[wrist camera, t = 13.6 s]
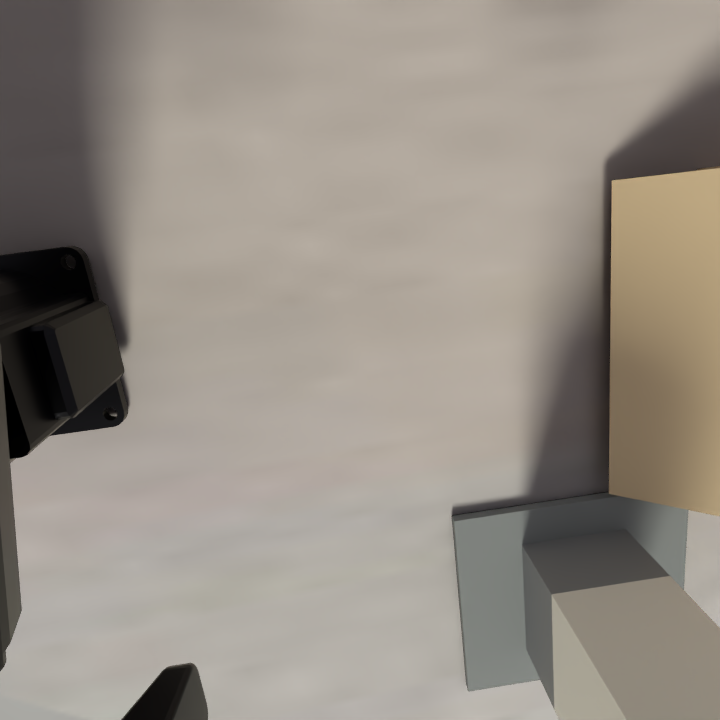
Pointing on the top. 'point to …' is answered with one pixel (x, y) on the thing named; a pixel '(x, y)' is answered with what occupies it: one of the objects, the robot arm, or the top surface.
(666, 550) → the mat
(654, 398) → the tan rectangular open frame
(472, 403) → the top surface
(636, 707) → the box
